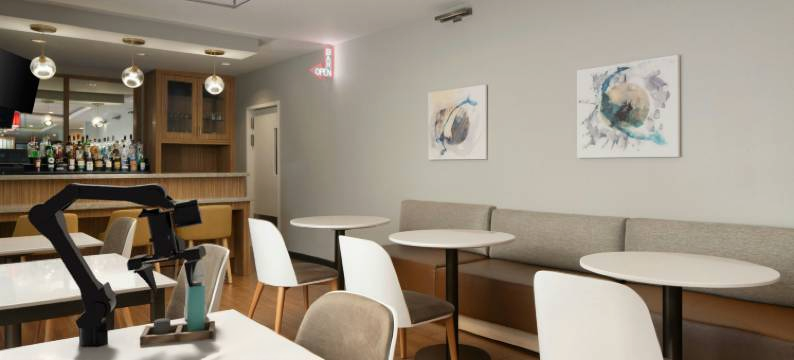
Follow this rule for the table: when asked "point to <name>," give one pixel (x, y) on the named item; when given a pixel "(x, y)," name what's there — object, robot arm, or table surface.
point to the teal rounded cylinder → (195, 307)
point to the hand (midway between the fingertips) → (173, 289)
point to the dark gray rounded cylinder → (162, 326)
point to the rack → (177, 334)
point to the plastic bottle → (198, 277)
